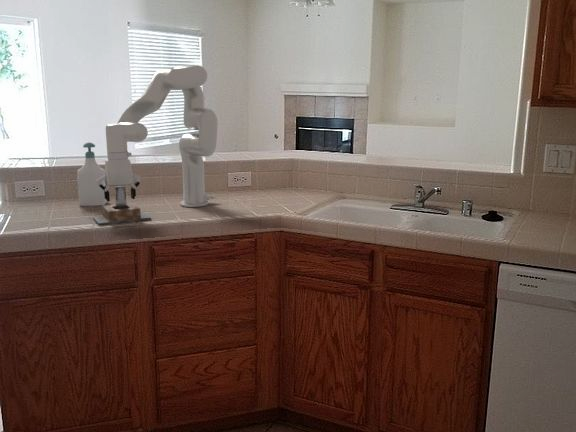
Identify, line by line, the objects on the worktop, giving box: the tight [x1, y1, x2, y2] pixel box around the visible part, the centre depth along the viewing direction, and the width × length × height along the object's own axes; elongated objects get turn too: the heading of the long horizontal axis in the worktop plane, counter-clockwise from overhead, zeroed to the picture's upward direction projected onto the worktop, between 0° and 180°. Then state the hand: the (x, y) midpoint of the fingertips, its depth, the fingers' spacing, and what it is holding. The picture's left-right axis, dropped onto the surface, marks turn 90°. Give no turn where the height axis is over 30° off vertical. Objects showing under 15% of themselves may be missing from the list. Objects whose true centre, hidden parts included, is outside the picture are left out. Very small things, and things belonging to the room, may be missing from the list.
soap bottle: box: [76, 141, 108, 207], centre depth 242 cm, size 11×8×27 cm
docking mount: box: [92, 202, 152, 227], centre depth 216 cm, size 20×12×5 cm, turn 119°
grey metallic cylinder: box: [114, 185, 127, 209], centre depth 215 cm, size 4×4×12 cm
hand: (120, 199), depth 215 cm, fingers open, 9 cm apart
